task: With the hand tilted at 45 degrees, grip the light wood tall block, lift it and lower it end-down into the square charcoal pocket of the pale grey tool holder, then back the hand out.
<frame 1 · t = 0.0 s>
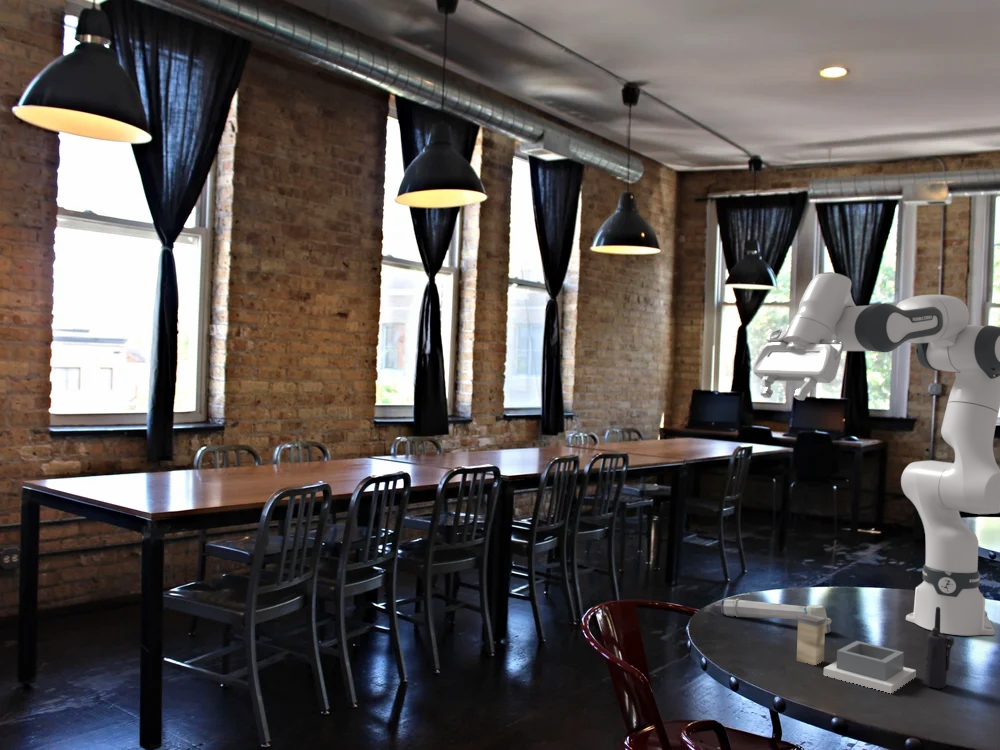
hand: (781, 397, 183), 54 cm above the table, tool tilted 30°, fingers open, 8 cm apart
light wood tall block: (810, 661, 183), on the table
tool holder: (869, 676, 174), on the table
white long handled device: (774, 625, 209), on the table
two-way radio: (939, 687, 170), on the table
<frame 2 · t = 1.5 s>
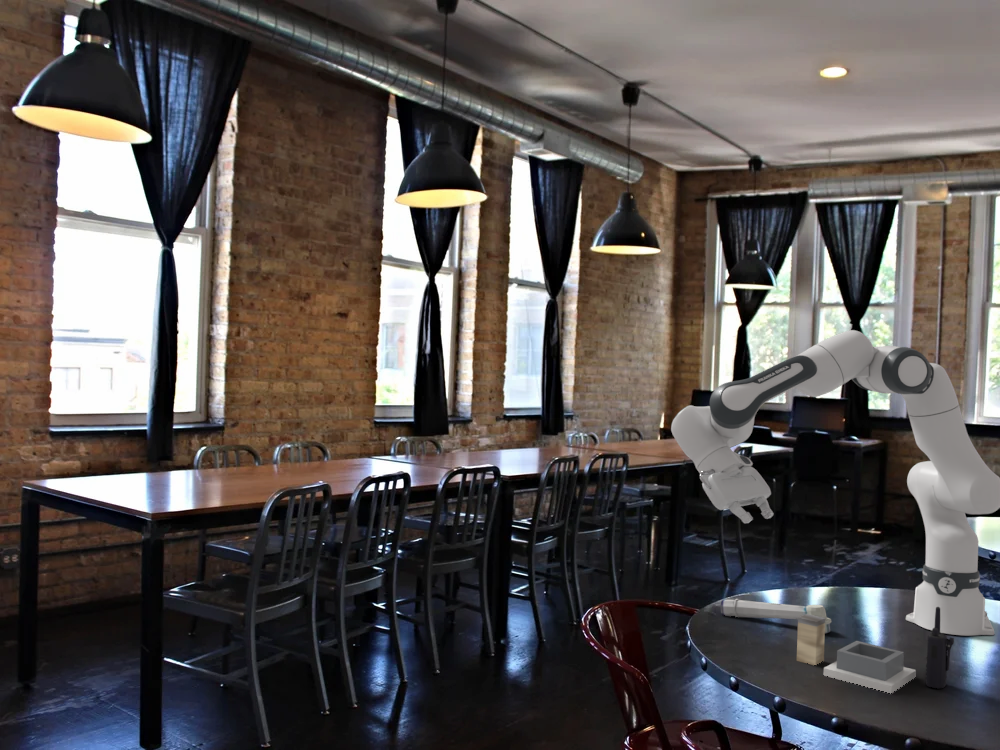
hand: (759, 519, 191), 28 cm above the table, tool tilted 45°, fingers open, 8 cm apart
nothing on the table moved.
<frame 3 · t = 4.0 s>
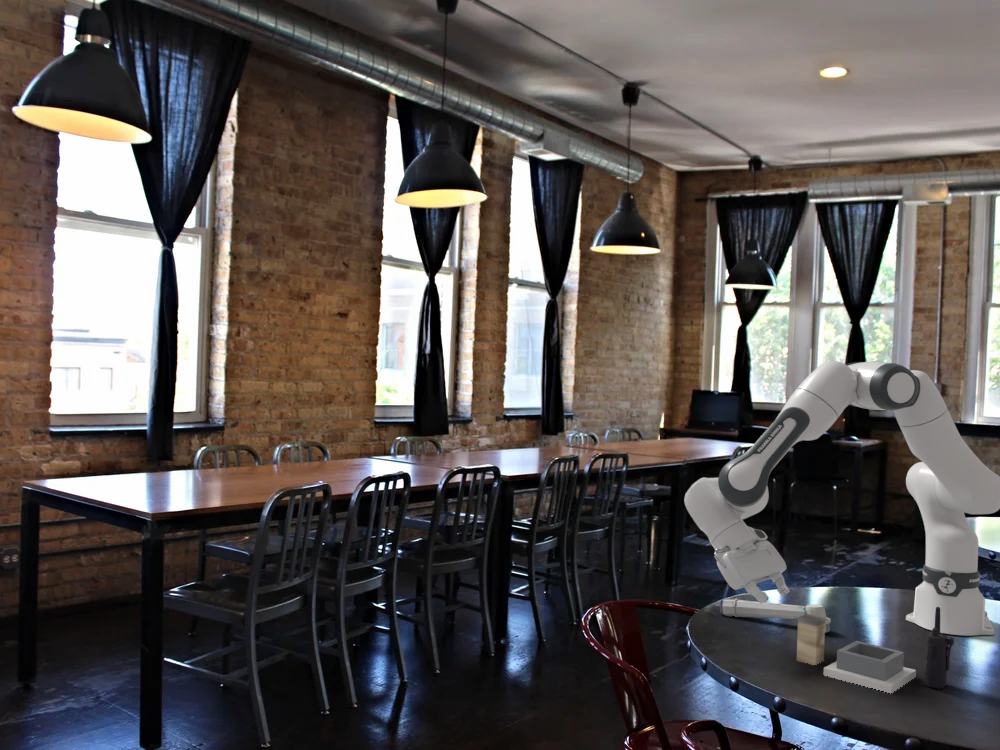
hand: (775, 597, 188), 11 cm above the table, tool tilted 45°, fingers open, 8 cm apart
nothing on the table moved.
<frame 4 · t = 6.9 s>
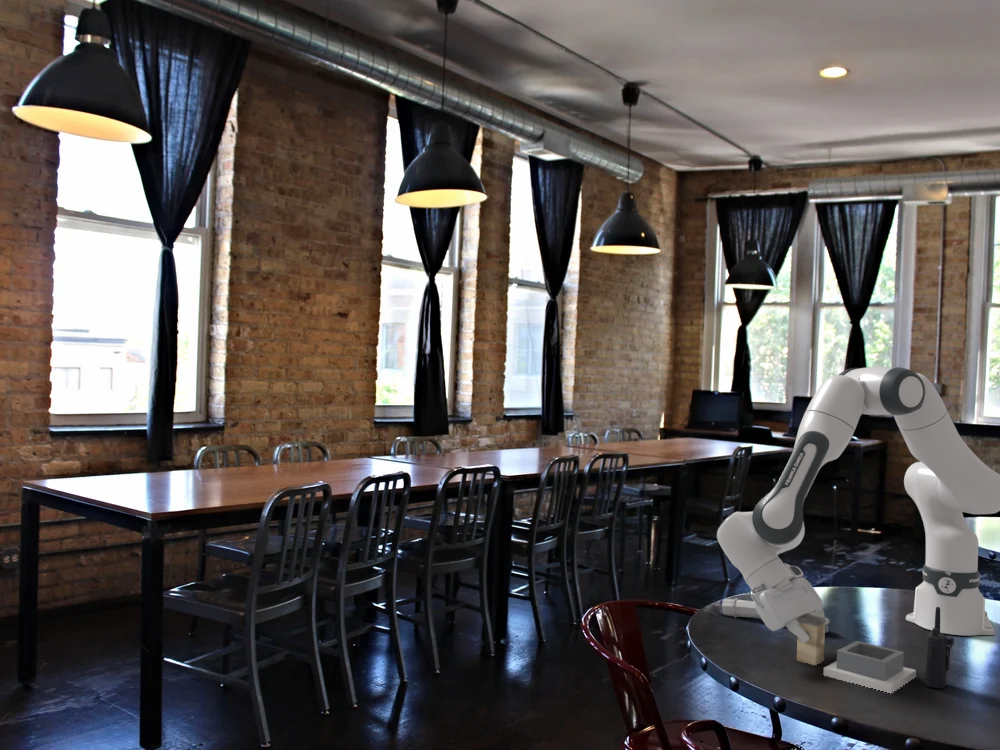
hand: (814, 638, 182), 5 cm above the table, tool tilted 45°, fingers closed on light wood tall block, 4 cm apart
light wood tall block: (810, 660, 183), on the table, touching gripper
everything else where it was.
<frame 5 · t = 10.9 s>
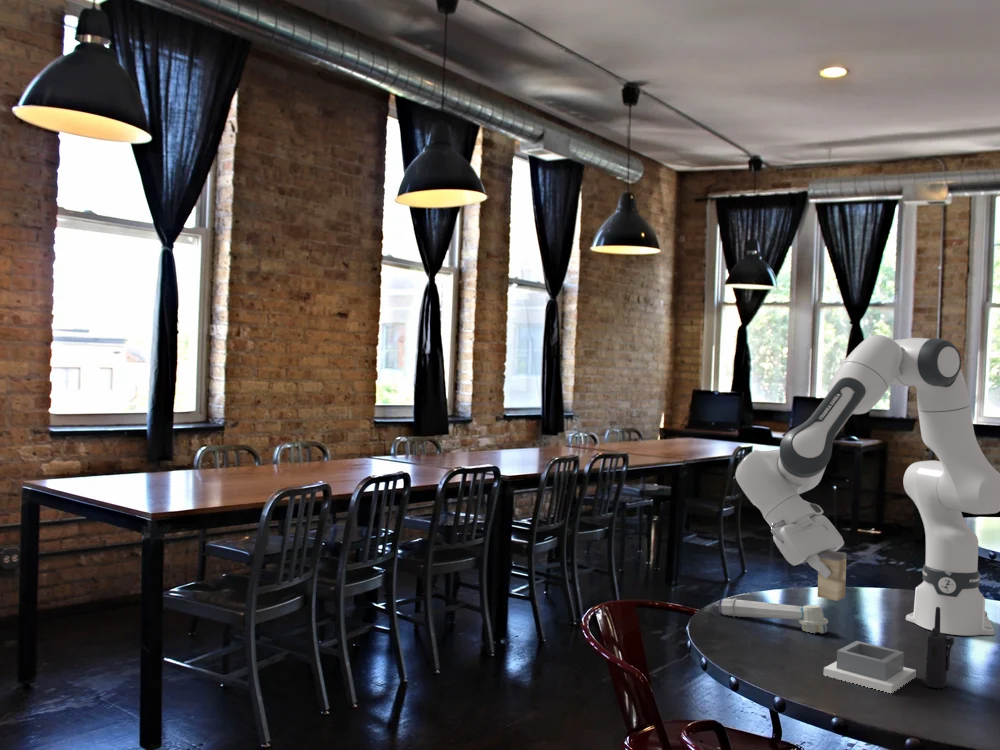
hand: (835, 573, 179), 19 cm above the table, tool tilted 45°, fingers closed on light wood tall block, 4 cm apart
light wood tall block: (831, 596, 180), point 14 cm above the table, touching gripper
everything else where it was.
when the fingers open (8 cm above the table, at t = 15.0 s): light wood tall block drops 1 cm, resting on tool holder.
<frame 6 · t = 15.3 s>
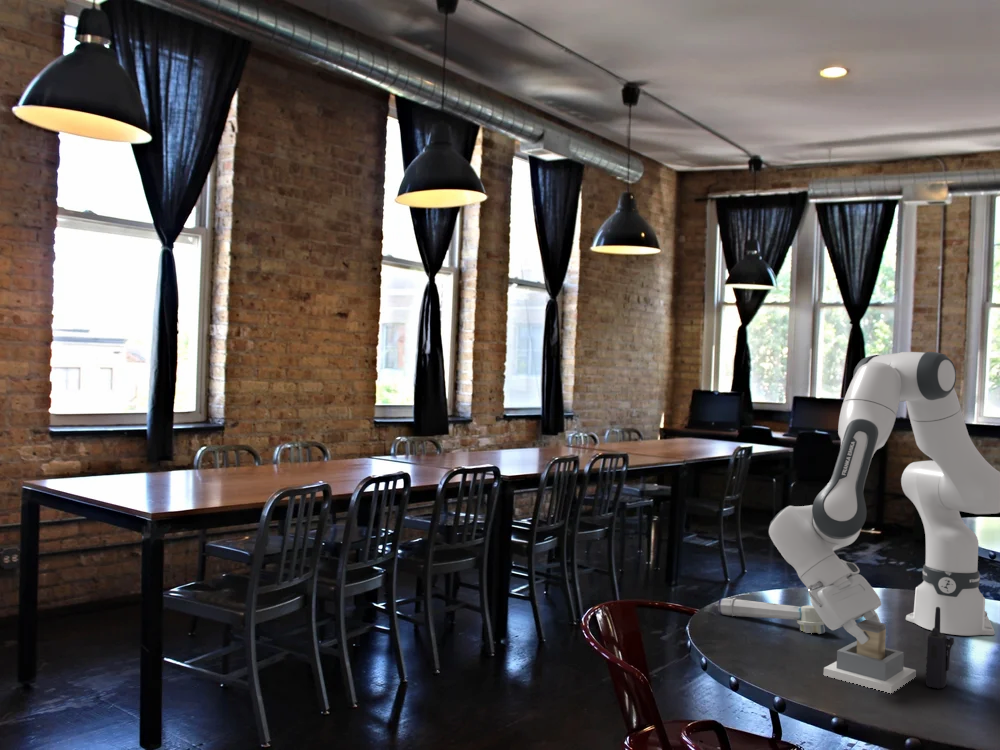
hand: (874, 637, 174), 8 cm above the table, tool tilted 45°, fingers open, 6 cm apart
light wood tall block: (870, 668, 174), point 1 cm above the table, touching tool holder
everything else where it was.
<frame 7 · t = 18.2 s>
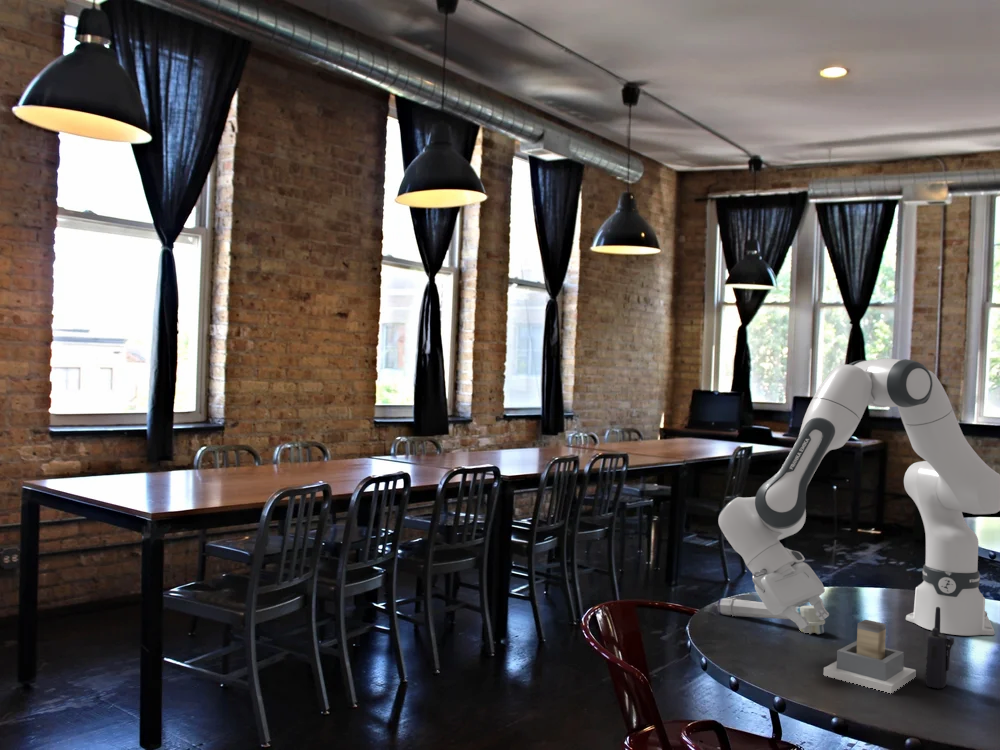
hand: (815, 622, 182), 8 cm above the table, tool tilted 45°, fingers open, 8 cm apart
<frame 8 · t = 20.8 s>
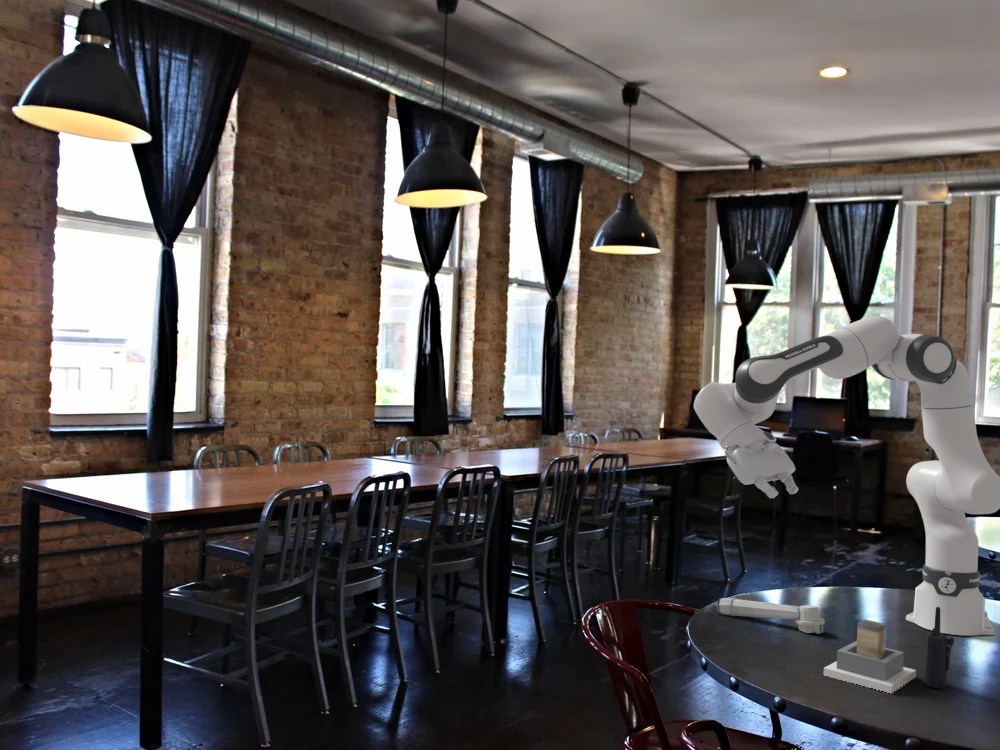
hand: (785, 494, 190), 33 cm above the table, tool tilted 45°, fingers open, 8 cm apart
at the end: light wood tall block 0.1 cm off-centre on the tool holder, point 1.5 cm above the tool holder's base; light wood tall block tilted 0°; the gripper is holding nothing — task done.
